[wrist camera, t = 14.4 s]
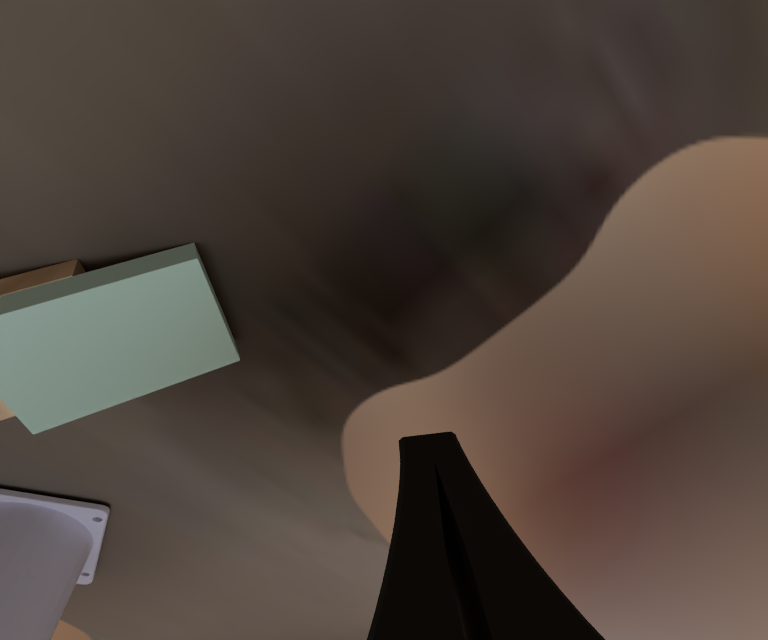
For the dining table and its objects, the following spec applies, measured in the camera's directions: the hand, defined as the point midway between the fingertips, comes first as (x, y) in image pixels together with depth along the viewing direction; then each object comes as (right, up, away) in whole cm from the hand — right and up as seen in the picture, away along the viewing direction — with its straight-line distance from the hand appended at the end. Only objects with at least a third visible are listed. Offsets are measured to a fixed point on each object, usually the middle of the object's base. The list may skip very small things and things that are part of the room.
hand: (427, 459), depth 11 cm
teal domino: (-8, +4, +7) cm, 11 cm away
